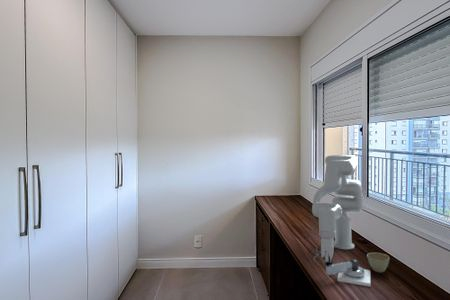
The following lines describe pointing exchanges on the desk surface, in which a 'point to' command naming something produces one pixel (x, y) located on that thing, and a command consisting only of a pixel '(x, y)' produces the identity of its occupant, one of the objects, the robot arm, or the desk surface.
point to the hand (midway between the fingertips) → (329, 269)
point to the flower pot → (378, 261)
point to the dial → (346, 269)
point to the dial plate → (360, 281)
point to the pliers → (317, 253)
